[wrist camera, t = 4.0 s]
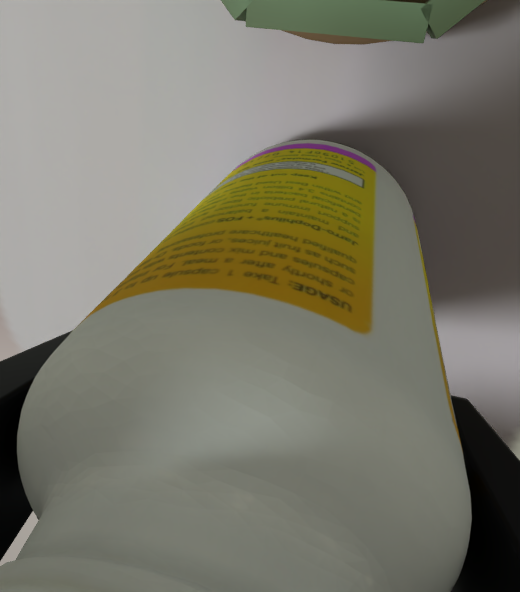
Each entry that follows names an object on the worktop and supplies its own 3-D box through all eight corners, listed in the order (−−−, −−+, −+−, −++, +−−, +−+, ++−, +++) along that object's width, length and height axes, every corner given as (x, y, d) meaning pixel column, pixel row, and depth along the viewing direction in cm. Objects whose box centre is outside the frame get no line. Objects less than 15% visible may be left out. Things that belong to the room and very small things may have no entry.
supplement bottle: (177, 216, 15) (-346, 697, 4) (334, 82, 11) (-261, 773, 1) (293, 348, 16) (143, 911, 6) (457, 265, 13) (775, 1202, 3)
